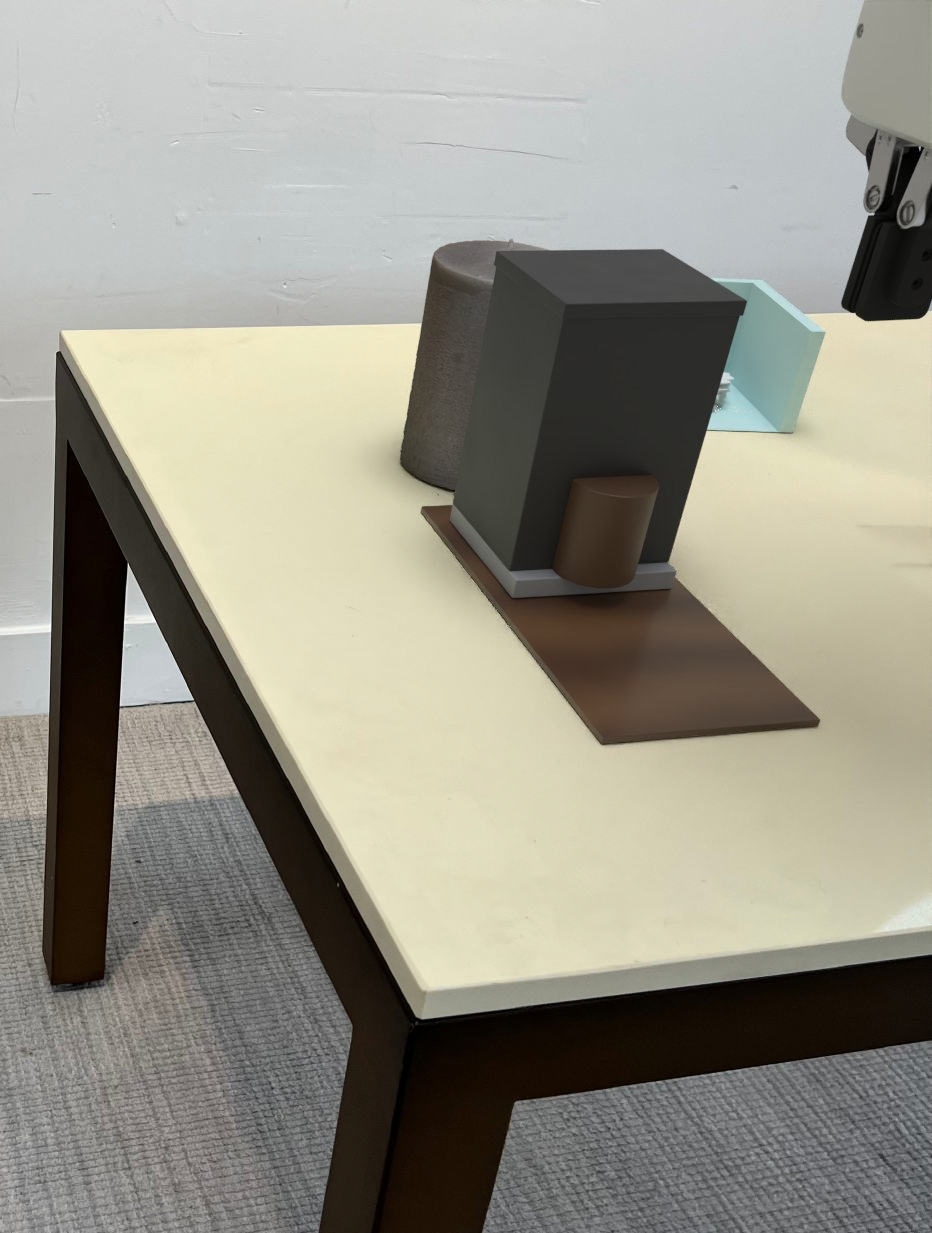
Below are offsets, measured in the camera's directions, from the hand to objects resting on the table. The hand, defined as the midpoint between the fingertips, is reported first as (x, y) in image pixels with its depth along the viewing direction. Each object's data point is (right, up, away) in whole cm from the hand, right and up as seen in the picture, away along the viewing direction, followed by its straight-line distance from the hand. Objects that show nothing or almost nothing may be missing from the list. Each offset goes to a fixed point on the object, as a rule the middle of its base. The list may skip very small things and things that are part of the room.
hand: (882, 313), depth 61 cm
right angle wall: (+9, +8, +47) cm, 48 cm away
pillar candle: (-10, +1, +35) cm, 36 cm away
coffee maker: (-8, -7, +24) cm, 26 cm away
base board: (-7, -11, +19) cm, 23 cm away
